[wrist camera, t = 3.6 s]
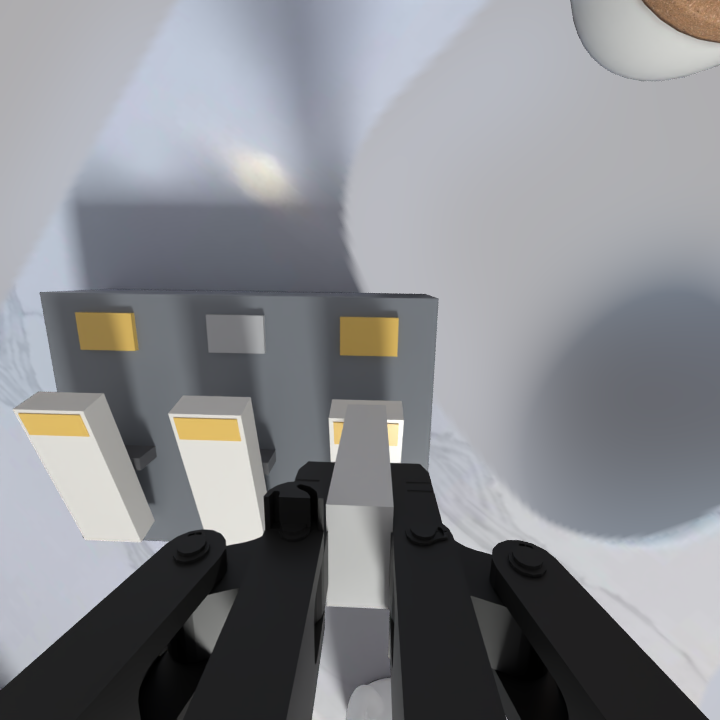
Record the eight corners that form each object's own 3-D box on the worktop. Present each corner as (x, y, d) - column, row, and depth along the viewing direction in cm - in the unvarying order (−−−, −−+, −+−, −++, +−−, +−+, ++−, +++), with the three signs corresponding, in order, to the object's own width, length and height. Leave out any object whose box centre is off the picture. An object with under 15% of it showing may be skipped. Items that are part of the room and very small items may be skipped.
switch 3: (337, 527, 21) (335, 551, 20) (332, 399, 17) (328, 418, 16) (393, 529, 21) (394, 553, 20) (401, 401, 17) (403, 421, 16)
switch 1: (101, 518, 22) (84, 541, 21) (37, 391, 17) (11, 410, 16) (154, 520, 22) (140, 543, 20) (103, 393, 17) (82, 411, 16)
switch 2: (218, 523, 22) (208, 545, 20) (183, 395, 17) (167, 414, 16) (272, 525, 21) (265, 548, 20) (250, 397, 17) (240, 416, 16)
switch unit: (134, 492, 28) (63, 555, 21) (106, 289, 24) (12, 293, 18) (414, 501, 27) (426, 571, 21) (425, 294, 24) (443, 300, 17)
